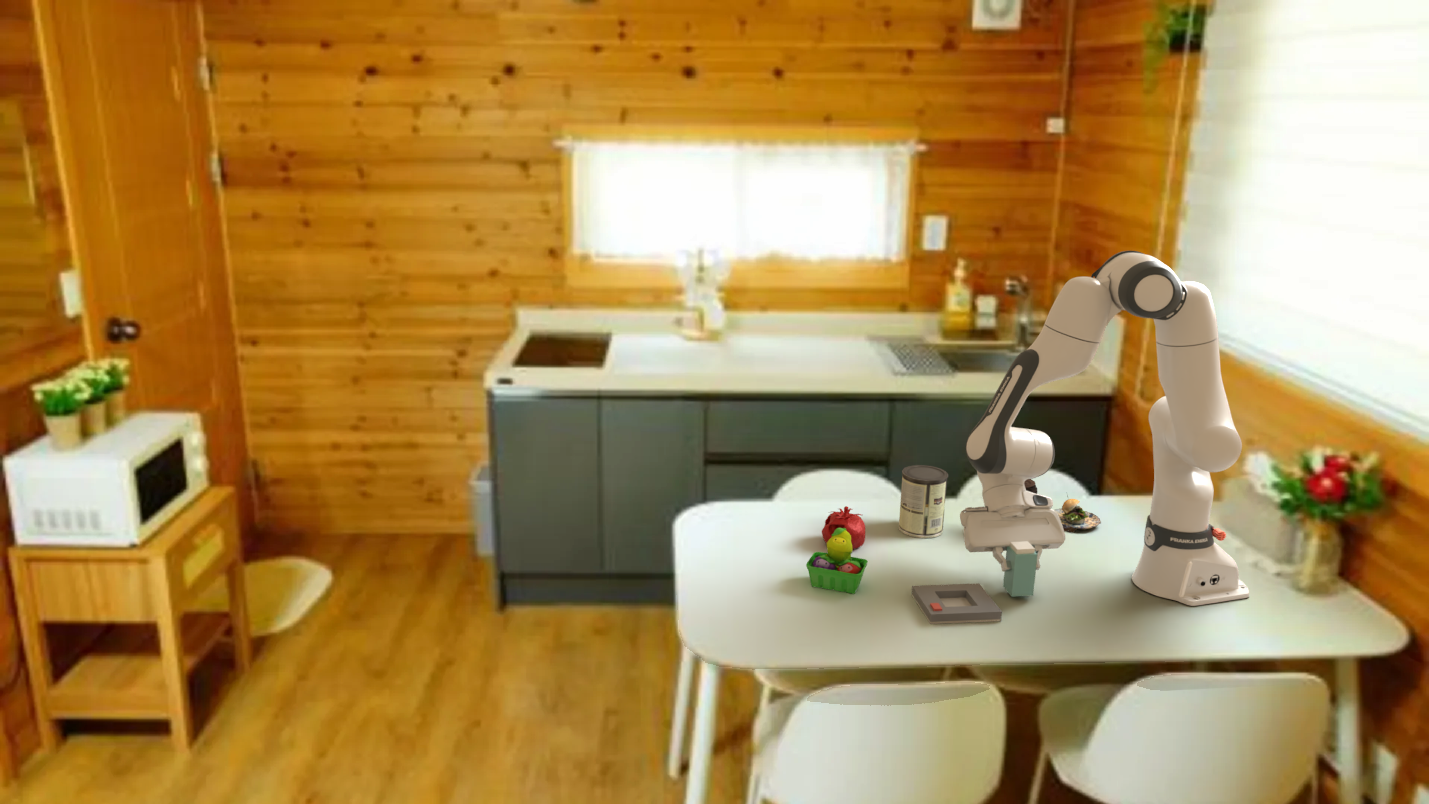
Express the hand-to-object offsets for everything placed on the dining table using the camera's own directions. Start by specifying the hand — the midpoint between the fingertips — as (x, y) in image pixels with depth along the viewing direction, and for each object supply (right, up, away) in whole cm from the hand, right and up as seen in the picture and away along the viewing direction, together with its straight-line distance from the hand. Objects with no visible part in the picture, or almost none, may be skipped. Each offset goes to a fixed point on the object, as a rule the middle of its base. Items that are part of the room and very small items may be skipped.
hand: (1021, 570), depth 208 cm
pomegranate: (-33, +1, +25) cm, 41 cm away
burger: (+24, +4, +39) cm, 46 cm away
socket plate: (-14, -7, -3) cm, 16 cm away
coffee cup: (+8, +3, +32) cm, 33 cm away
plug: (0, -5, +2) cm, 5 cm away
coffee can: (-14, +4, +34) cm, 36 cm away
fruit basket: (-36, -4, +6) cm, 37 cm away
